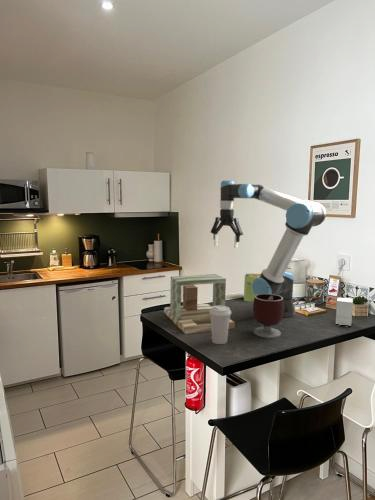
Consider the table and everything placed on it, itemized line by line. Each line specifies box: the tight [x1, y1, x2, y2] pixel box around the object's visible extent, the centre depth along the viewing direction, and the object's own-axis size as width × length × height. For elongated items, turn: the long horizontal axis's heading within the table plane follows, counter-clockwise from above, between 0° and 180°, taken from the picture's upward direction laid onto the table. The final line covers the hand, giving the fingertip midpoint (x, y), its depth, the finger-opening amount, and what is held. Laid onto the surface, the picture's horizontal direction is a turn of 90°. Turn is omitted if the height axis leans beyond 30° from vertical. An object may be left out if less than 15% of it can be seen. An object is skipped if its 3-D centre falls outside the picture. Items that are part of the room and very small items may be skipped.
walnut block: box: [182, 285, 199, 310], centre depth 206 cm, size 6×6×12 cm
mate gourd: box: [252, 294, 284, 339], centre depth 178 cm, size 16×14×20 cm
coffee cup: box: [209, 305, 232, 345], centre depth 167 cm, size 10×10×15 cm
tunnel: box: [163, 273, 236, 335], centre depth 195 cm, size 34×25×22 cm
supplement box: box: [335, 297, 354, 327], centre depth 194 cm, size 7×7×13 cm
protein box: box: [243, 272, 261, 303], centre depth 237 cm, size 10×15×16 cm
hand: (226, 246), depth 218 cm, fingers open, 13 cm apart
